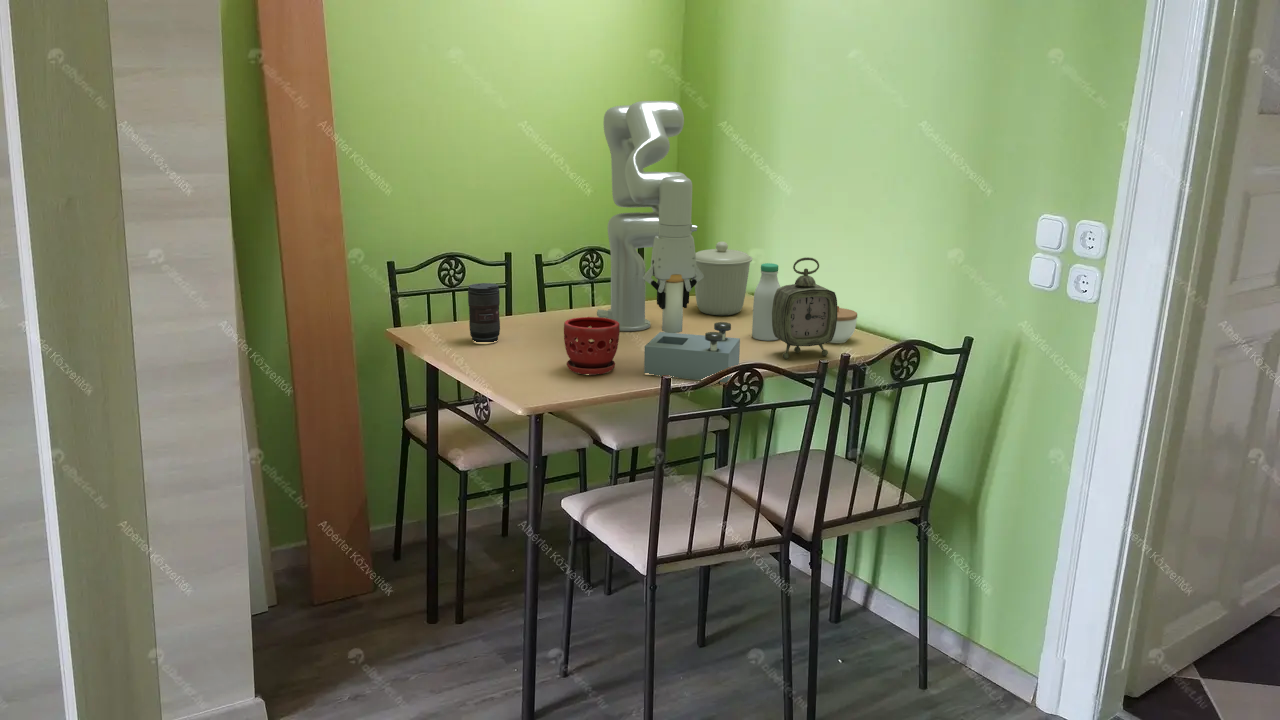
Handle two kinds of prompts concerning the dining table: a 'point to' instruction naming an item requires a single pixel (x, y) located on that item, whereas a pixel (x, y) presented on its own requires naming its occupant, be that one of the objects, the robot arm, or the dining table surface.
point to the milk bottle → (765, 303)
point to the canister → (722, 280)
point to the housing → (689, 356)
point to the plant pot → (591, 344)
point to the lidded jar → (844, 325)
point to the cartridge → (673, 305)
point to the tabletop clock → (804, 313)
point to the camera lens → (484, 312)
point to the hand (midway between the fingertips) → (672, 306)
